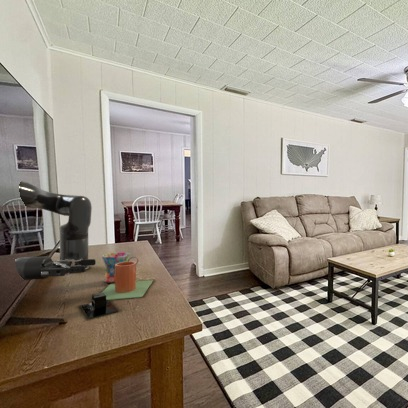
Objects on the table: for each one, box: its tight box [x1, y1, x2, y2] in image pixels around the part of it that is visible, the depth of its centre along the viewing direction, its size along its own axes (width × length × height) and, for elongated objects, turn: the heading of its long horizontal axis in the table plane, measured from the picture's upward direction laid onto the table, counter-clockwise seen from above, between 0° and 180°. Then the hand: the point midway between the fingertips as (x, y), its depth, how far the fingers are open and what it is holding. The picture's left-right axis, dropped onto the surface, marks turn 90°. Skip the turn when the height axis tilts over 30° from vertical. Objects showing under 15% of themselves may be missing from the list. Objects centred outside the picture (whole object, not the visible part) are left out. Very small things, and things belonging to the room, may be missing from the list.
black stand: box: [80, 292, 119, 320], centre depth 90 cm, size 12×7×5 cm, turn 51°
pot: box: [114, 261, 137, 293], centre depth 105 cm, size 6×6×10 cm
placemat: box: [100, 279, 154, 301], centre depth 106 cm, size 18×14×1 cm
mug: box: [101, 252, 140, 284], centre depth 115 cm, size 12×9×11 cm
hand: (90, 265), depth 101 cm, fingers open, 8 cm apart
